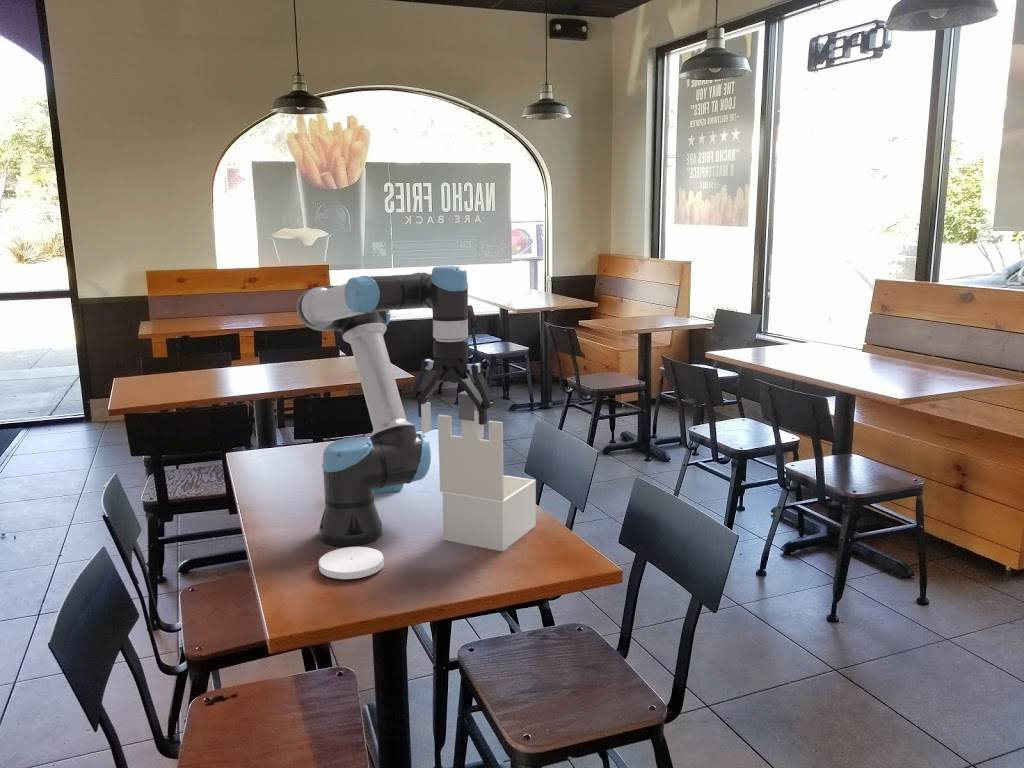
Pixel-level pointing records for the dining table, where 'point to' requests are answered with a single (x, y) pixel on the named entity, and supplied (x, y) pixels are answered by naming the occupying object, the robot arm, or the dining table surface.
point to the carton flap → (470, 456)
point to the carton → (491, 516)
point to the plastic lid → (351, 562)
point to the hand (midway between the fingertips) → (452, 435)
